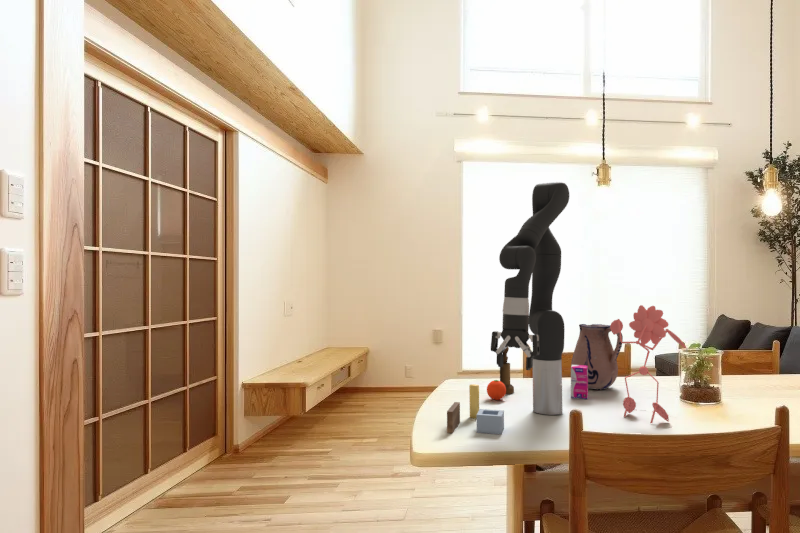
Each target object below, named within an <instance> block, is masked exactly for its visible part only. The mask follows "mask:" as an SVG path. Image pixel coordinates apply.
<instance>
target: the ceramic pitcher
mask: <svg viewBox="0 0 800 533" xmlns="http://www.w3.org/2000/svg"><path fill="white" fill-rule="evenodd" d="M610 325H611V324H609V325H608V324H601V323H599V324H598V323H597V324H596V323H592V324H585V323H581V324H580V323H579V325H578V326H579V333H578V334H579V335H578V339H577V342H576V345H575V347H574V350H573V354H572V359H571V362H570V364H571V365H570V367H571V366H572V365H586V366H588V390H598V389H600V390H607V389H608V388H610V387H612V385H614V383H615V382H616V380H617V378H618V373H619V367H618V362H617V359H618V357H619V355H620V353H621V349H622V346H623V343H621V342H620V335H619V333H617V334H616V337H617V339H616V345H615V348H614V347H613V345H612V342H611V338H610V334H609V333H612V331H611V329H610ZM621 336H622V342H624V340H623V334H622V332H621Z"/></svg>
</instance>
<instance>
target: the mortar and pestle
mask: <svg viewBox="0 0 800 533" xmlns="http://www.w3.org/2000/svg"><path fill="white" fill-rule="evenodd" d="M509 348H510V347H507V348H506V349H505V350H504V351H503V353H502V354H503V367H499V381H501V382H502V383H503V384H504V385H505V387H506V394H505V395H507V394H509V395H510V394H514V393H515V387H514V386H513V384H512V383H511V363H510V362H508V360H509V357H508V352H509V350H510V349H509Z"/></svg>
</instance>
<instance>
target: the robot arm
mask: <svg viewBox="0 0 800 533" xmlns="http://www.w3.org/2000/svg"><path fill="white" fill-rule="evenodd" d="M531 197H532V198H531V200H532V203H531V204H532V216H530V217H529V218H527V219H526V221H525V222H523V224H522V225H521V227H520V229H519V231H518V233H517V234H516V235H515V236H514V237H513V238H512V239H510V240H509V241H508V242H507V243H506V244H505V245H504V246H503V247H502V249H501V251H500V253H499V258H498V260H499V264H500V265H501V267H502V268H504V269H506V270H518V273H517V274H516V275H515V276H513V277H508V278H506V279H505V281H504V293H503V294H504V297H503V299H504V300H503V304H502V305H503V306H502V327H501V328H502V331H501V332H500V331H497V330H494V331H492V333H491V340H490V351H491V352H494V353H496V365H497V367H498V368H500V367H503V351H504V350H505V349H506V348H507V347H508V348H516V349H521V350H522V351H523V352H524V353H525V355H526V357H525V370H526V371H531V370H532V410H533V412H534V413H537V414H540V415H545V416H546V415H548V416H549V415H550V416H553V415H563V372H562V371H563V369H562V368H563V366H562V364H563V363H562V360H563V359H562V358H563V357H562V355H563V352H564V348H565V321H564V318H563V316H562V314H560V312H558V311H556V310H553V294H554V290H555V287H556V285H557V283H558V280H559V278H560V274H561V270H562V248H561V246H560V244H559V242H558V241H557V239H556V237H555V235H554V234H553V232H552V230H551V228H550V226H551V225H552V224H553V223H554V221H555V220H556V219H557V218H558V217H559V216H560V215H561V213H562V212H563V211H564V210H565V209H566V207H567V206H568V204H569V201H570V190H569V187H568V185H567V183H566V182H562V181H554V182H543V183H537V184H535V185H534V187H533V189H532V195H531ZM530 281H531V282H530ZM530 283H531V299H530V300H529V296H530V295H529V294H530V292H529V291H530ZM529 329H530V332H532V334H529ZM500 338H501V339H502V340H503V341H502V342H501V343H500V345H499V339H500ZM529 340H530V342H532V349H531V347H530V345H529V344H528V341H529ZM498 345H499V346H498Z"/></svg>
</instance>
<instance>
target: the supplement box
mask: <svg viewBox="0 0 800 533" xmlns="http://www.w3.org/2000/svg"><path fill="white" fill-rule="evenodd" d="M570 398H571V399H577V398H580V399H579V400H588V398H589V389H588V366H586V365H572V366H571V365H570Z"/></svg>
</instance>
